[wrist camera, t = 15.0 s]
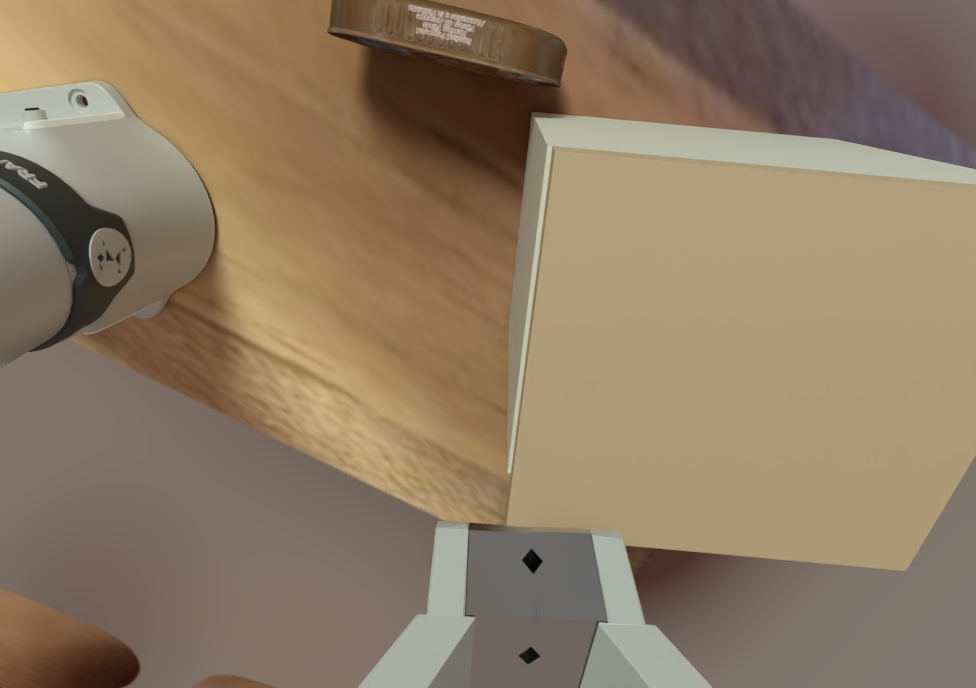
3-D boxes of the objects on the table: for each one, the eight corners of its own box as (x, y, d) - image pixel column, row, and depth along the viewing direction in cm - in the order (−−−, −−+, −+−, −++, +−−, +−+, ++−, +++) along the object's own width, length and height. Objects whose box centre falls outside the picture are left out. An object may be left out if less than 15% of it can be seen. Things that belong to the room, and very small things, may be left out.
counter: (505, 352, 49) (501, 534, 30) (531, 111, 40) (549, 150, 21) (754, 375, 49) (909, 571, 30) (835, 139, 40) (1132, 203, 21)
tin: (347, 42, 39) (307, 36, 31) (351, -9, 37) (310, -29, 30) (554, 91, 40) (564, 96, 32) (565, 42, 38) (579, 35, 31)
